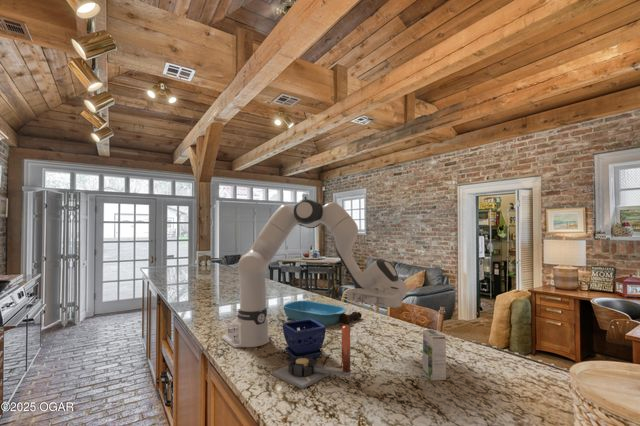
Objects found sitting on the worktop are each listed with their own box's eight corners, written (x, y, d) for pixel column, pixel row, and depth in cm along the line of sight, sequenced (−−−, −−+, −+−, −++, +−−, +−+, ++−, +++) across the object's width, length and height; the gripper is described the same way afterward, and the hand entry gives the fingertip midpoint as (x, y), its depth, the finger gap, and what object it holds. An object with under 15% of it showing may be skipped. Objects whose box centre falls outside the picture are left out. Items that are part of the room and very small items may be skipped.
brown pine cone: (360, 322, 174) (344, 327, 163) (354, 315, 177) (338, 320, 166) (365, 313, 173) (349, 318, 162) (358, 307, 176) (342, 311, 165)
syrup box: (422, 373, 108) (421, 329, 108) (439, 372, 108) (438, 329, 109) (429, 381, 102) (428, 335, 103) (447, 380, 102) (446, 334, 103)
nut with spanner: (285, 374, 103) (285, 325, 104) (294, 363, 112) (294, 318, 113) (347, 383, 98) (347, 330, 98) (352, 371, 106) (352, 323, 107)
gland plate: (272, 375, 106) (272, 361, 106) (301, 362, 116) (301, 349, 116) (302, 389, 96) (302, 373, 97) (331, 373, 107) (331, 359, 107)
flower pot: (294, 365, 114) (294, 331, 114) (281, 352, 125) (281, 322, 126) (326, 358, 120) (326, 326, 120) (311, 347, 131) (311, 317, 132)
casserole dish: (353, 320, 172) (353, 306, 172) (332, 330, 154) (332, 315, 154) (299, 310, 192) (299, 298, 193) (275, 318, 174) (275, 305, 174)
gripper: (358, 283, 127) (337, 287, 117) (405, 289, 114) (386, 295, 104) (358, 299, 127) (337, 305, 117) (405, 307, 114) (386, 315, 103)
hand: (360, 300), depth 110 cm, fingers open, 3 cm apart
